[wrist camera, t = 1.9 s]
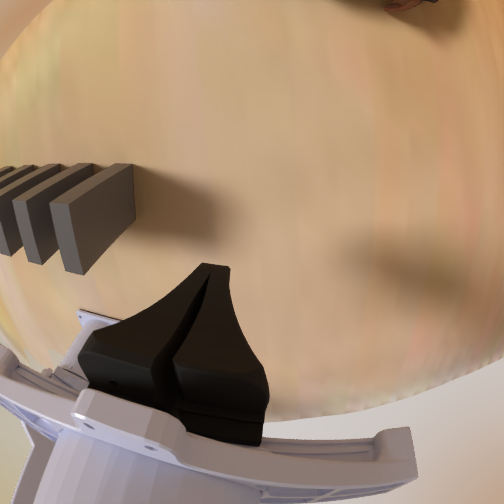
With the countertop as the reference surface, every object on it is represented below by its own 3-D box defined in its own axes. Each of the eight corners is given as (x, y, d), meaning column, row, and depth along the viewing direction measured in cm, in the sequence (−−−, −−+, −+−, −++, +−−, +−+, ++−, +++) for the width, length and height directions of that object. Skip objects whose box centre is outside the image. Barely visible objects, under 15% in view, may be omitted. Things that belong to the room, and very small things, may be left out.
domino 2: (66, 211, 23) (10, 256, 16) (55, 210, 24) (0, 253, 16) (59, 163, 21) (-5, 199, 14) (48, 164, 21) (-15, 198, 14)
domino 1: (40, 209, 24) (-13, 249, 16) (31, 208, 24) (-21, 247, 16) (33, 164, 21) (-27, 198, 14) (24, 165, 21) (-34, 197, 14)
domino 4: (135, 219, 23) (83, 275, 16) (119, 217, 23) (65, 271, 16) (132, 163, 21) (68, 204, 13) (115, 163, 21) (49, 202, 13)
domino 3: (97, 214, 23) (42, 265, 16) (84, 213, 23) (28, 261, 16) (92, 163, 21) (25, 201, 14) (78, 163, 21) (12, 200, 14)
